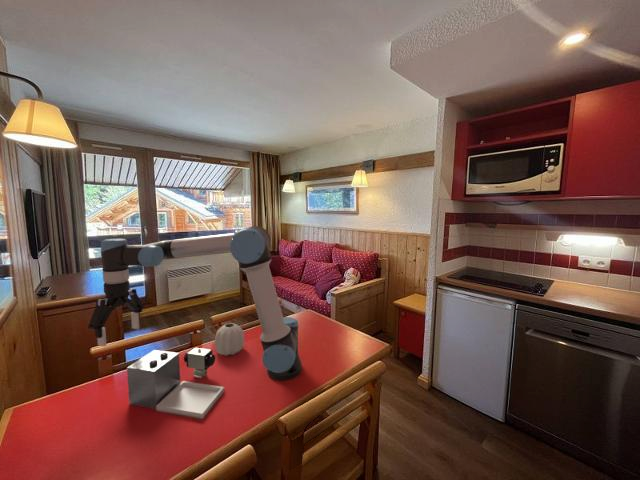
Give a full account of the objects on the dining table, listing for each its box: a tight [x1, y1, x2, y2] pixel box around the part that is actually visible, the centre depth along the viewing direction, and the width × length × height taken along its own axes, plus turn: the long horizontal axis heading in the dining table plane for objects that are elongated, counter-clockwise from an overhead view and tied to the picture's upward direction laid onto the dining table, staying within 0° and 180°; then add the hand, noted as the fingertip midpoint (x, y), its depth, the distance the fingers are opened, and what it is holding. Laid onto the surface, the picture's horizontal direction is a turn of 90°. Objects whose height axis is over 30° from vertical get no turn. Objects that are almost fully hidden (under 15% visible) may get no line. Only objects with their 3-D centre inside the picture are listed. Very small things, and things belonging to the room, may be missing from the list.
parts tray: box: [155, 380, 225, 420], centre depth 97 cm, size 18×14×2 cm
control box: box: [126, 349, 181, 410], centre depth 98 cm, size 11×12×15 cm
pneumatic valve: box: [183, 347, 216, 379], centre depth 111 cm, size 6×12×12 cm, turn 78°
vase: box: [214, 322, 245, 357], centre depth 130 cm, size 14×14×13 cm
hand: (120, 336), depth 99 cm, fingers open, 13 cm apart
